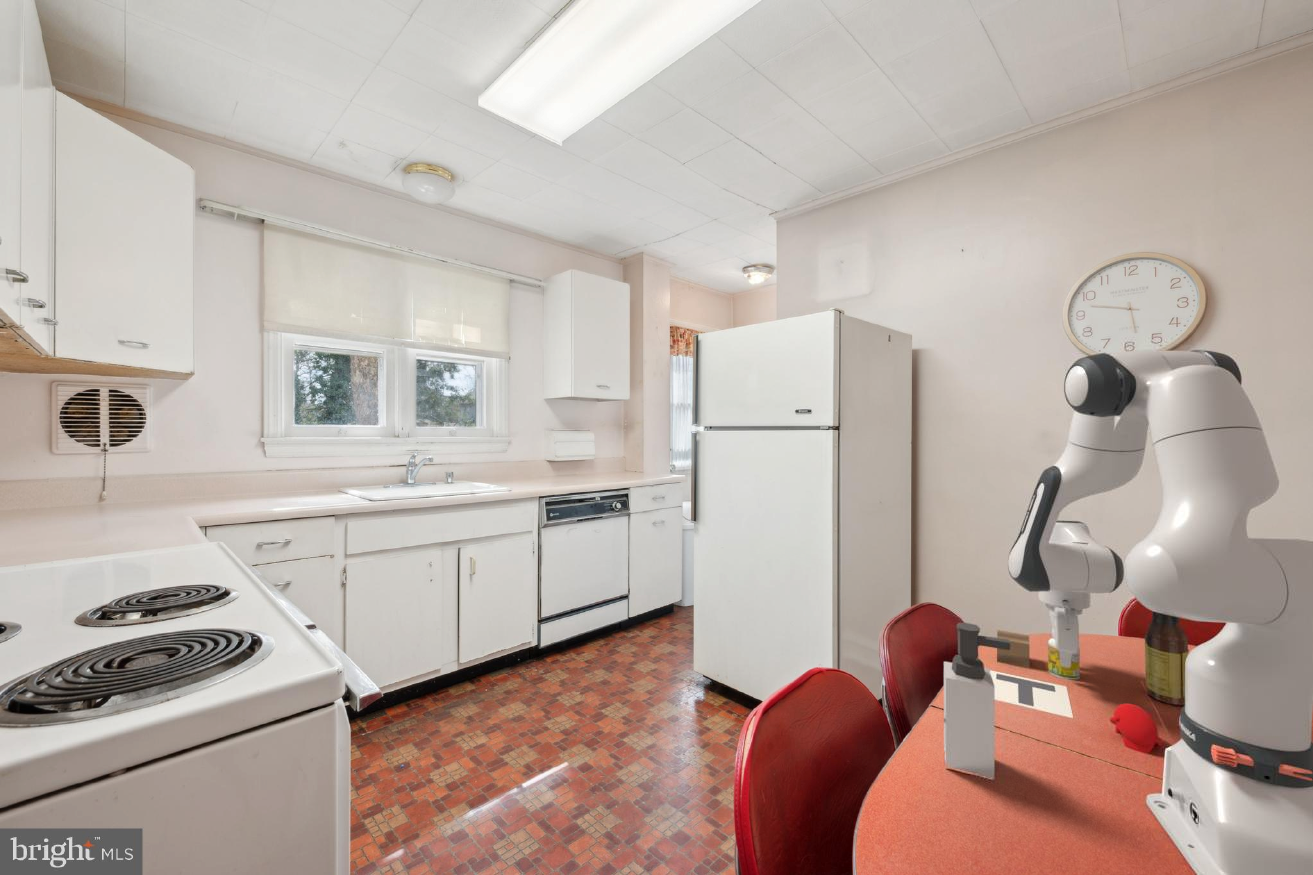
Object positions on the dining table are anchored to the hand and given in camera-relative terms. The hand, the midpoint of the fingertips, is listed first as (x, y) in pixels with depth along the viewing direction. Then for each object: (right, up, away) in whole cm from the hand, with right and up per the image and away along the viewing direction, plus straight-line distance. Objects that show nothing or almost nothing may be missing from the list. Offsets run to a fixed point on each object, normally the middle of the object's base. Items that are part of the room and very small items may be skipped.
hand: (1063, 658), depth 113 cm
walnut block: (-6, -4, +7) cm, 10 cm away
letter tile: (-14, -4, -8) cm, 16 cm away
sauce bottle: (+13, -4, -10) cm, 17 cm away
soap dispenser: (-37, -5, -29) cm, 47 cm away
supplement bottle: (0, -4, 0) cm, 4 cm away
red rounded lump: (-7, -5, -24) cm, 26 cm away
